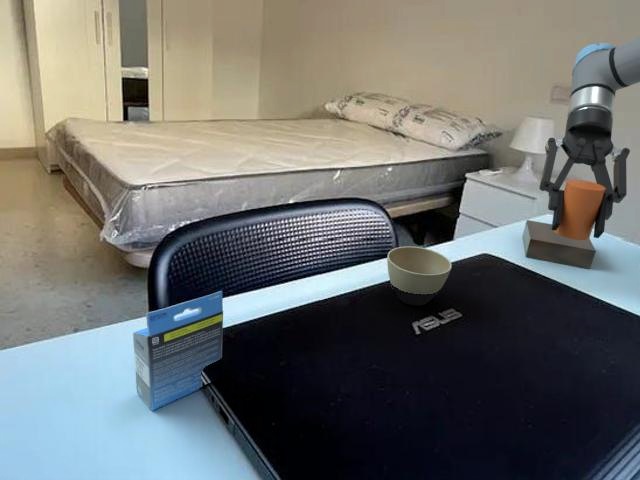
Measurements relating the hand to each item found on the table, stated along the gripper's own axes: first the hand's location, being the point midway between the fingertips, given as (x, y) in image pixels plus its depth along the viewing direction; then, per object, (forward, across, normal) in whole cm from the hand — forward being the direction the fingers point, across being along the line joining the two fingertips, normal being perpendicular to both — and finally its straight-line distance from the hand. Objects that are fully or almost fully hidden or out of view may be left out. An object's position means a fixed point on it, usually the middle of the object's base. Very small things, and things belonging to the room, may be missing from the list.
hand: (577, 230), depth 84 cm
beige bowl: (+19, +24, +3) cm, 31 cm away
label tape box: (+42, +46, +26) cm, 68 cm away
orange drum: (-1, 0, -4) cm, 4 cm away
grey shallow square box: (-5, -1, -21) cm, 22 cm away
